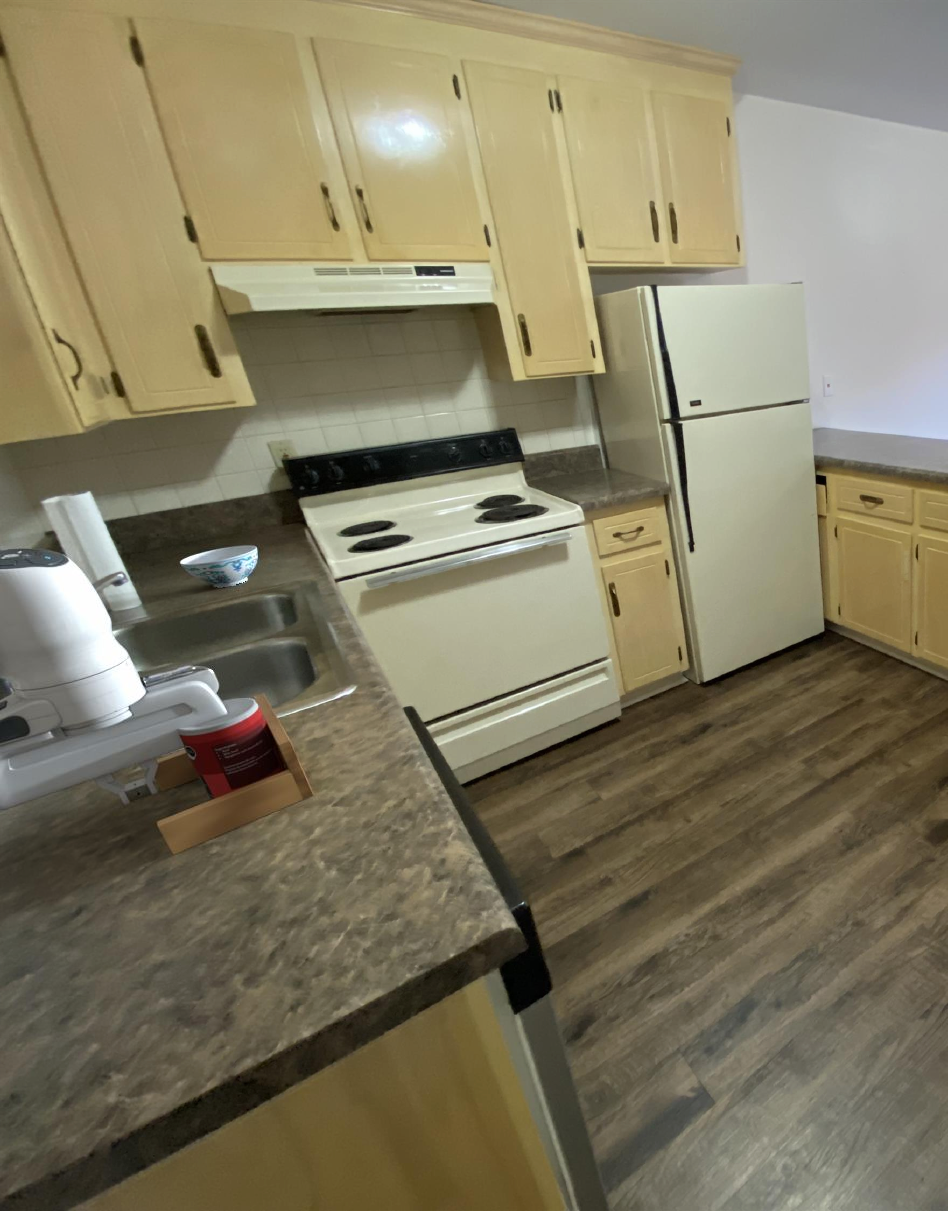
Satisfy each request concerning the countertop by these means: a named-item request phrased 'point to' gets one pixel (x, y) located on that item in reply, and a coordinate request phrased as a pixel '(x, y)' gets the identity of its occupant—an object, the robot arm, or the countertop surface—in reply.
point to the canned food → (232, 749)
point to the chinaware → (222, 565)
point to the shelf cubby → (231, 793)
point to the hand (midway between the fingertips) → (141, 796)
